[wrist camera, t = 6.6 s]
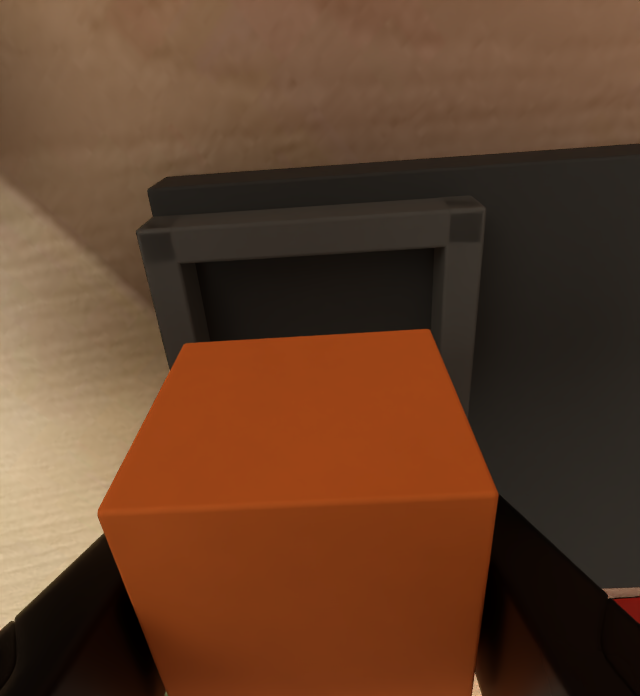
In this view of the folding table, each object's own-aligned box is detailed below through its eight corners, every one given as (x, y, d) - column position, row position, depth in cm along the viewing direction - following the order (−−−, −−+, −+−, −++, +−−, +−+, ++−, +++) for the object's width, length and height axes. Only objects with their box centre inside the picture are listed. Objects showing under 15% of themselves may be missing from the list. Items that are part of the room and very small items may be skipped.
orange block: (227, 537, 11) (184, 743, 8) (182, 341, 9) (92, 513, 5) (423, 528, 11) (468, 735, 8) (430, 326, 9) (502, 494, 5)
